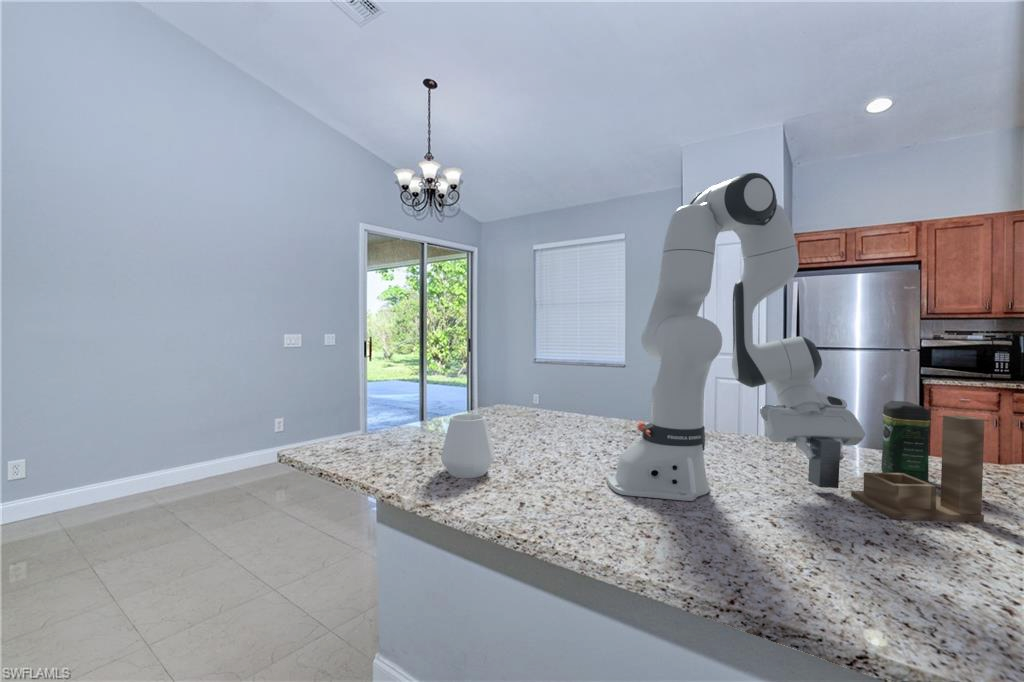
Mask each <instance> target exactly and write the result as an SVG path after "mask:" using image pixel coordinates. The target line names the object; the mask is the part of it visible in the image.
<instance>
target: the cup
mask: <svg viewBox="0 0 1024 682" xmlns="http://www.w3.org/2000/svg"><path fill="white" fill-rule="evenodd" d="M492 442H493V441H492V439H491V435H490V431H489V427H488V422H487V419H486V416H484V415H482V414H477V413H461V414H455V415H451V416H450V418H449V423H448V427H447V430H446V434H445V438H444V444H443V446H442V450H441V456H440V457H441V463H442V464H443V466H444V468H445V469H446V470H447V472H448V474H449V475H450V476H452V477H453V478H459V479H475V478H480V477H483V476H484V475H485V474H487V472H488V471H489V469H490V467H491V466H492V464H493V462H494V460H495V458H496V457H495V451H494V447H493V443H492Z"/></svg>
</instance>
